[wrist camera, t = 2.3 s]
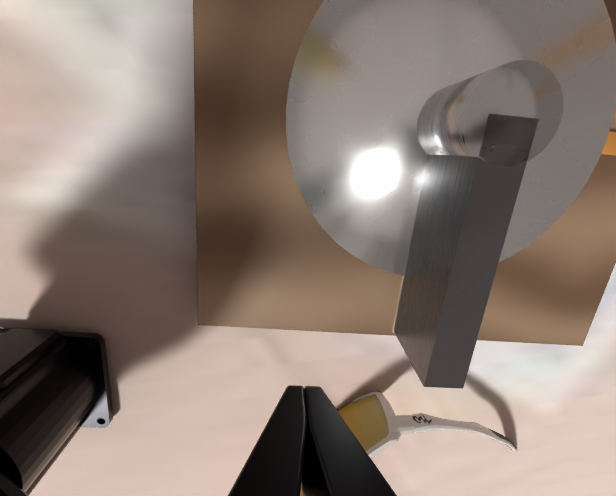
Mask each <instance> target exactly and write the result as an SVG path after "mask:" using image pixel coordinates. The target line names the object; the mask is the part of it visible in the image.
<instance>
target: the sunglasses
mask: <svg viewBox="0 0 616 496" xmlns="http://www.w3.org/2000/svg"><path fill="white" fill-rule="evenodd" d="M338 413H339V414H340V415H341V417H342V418H343V420H344V421H345V423H346V424H347V425H348V427H349V428H350V430H351V431H352V433H353V434H354V435H355V437H356V438H357V440H358V441H359V443H360V444H361V445H362V447H363V448H364V450H365V451H366V453H367V454H368V455H369V457H370V458H373V457H374V456H375V455H376V454H378V453H379V452H381V451H382V450H384V449H385V448H387V447H388V446H390V445H392V444H393V443H395V442H396V441H398V439H399V437H400V435H402V434H409V433H418V432H427V431H436V430H463V431H468V432H473V433H478V434H482V435H484V436H487V437H489V438H491V439H494V440H496V441H499V442H501V443H504V444H505V445H507V446H509V447H510V449H511V450H513V451H515V452H517V449H516V448H515V446H514V445H513V444H512V443H511V442H510V441H509V440H508V439H507V438H506V437H504V436H503V435H501V434H499V433H497V432H495V431H493V430H491V429H488V428H486V427H484V426H482V425H479V424H477V423H475V422H463V421H453V420H447V419H442V418H437V417H433V416H429V415H426V414H422V413H419V414H414V415H409V416H408V415H401V416H395V414H394V411H393V409H392V407H391V405H390V404H389V402H388V401H387V399H386V398H385V397H384V395H383V394H382V393H381V392H378V391H374V392H371V393H368V394H365V395H363V396H361V397H358V398H356V399H354V400H353V401H352V402H351V403H350V404H348V405H346V406H344V407H343V408H341V409H340V410H339V411H338ZM300 496H302V492H300Z"/></svg>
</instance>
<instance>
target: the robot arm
mask: <svg viewBox="0 0 616 496" xmlns="http://www.w3.org/2000/svg"><path fill="white" fill-rule="evenodd" d="M91 341H92V342H94V343H95V344H96V345H95V344H93V343H92V342H91ZM102 418H103V419H102ZM112 419H113V412H112V404H111V395H110V386H109V378H108V369H107V360H106V351H105V343H104V339H103V338H102V336H100V335H98V334H95V333H76V332H59V331H56V330H38V329H19V328H12V329H0V496H29V494H30V493H31V492H32V490H33V489H34V488H35V486H36V485H37V484H38V482H39V481H40V480H41V478H42V477H43V476H44V475H45V473H46V472H47V471H48V469H49V468H50V467H51V465H52V464H53V463H54V461H55V460H56V459H57V457H58V456H59V455H60V453H61V452H62V451H63V450H64V448H65V447H66V446H67V444H68V443H69V442H70V440H71V439H72V438H73V436H74V435H75V434H76V432H77V431H78V430H79V428H80V427H98V428H103V427H107V426H108V425H109V423H110V422H111V420H112ZM300 492H302V496H397V495H396V494H395V493H394V491H393V490H392V488H391V487H390V485H389V484H388V483H387V481H386V480H385V478H384V477H383V475H382V474H381V473H380V471H379V470H378V468H377V467H376V465H375V464H374V463H373V461H372V460H371V458H370V457H369V455H368V454H367V453H366V451H365V450H364V448H363V447H362V445H361V444H360V443H359V441H358V440H357V438H356V437H355V435H354V434H353V433H352V431H351V430H350V428H349V427H348V425H347V424H346V423H345V421H344V420H343V418H342V417H341V415H340V414H339V413H338V411H337V410H336V408H335V407H334V405H333V404H332V403H331V401H330V400H329V398H328V397H327V395H326V394H325V393H324V391H323V390H322V388H321V387H316V386H306V387H305V388H303V386H291V385H290V386H288V387H287V388H286V390H285V392H284V393H283V395H282V397H281V399H280V401H279V403H278V404H277V406H276V408H275V410H274V412H273V414H272V415H271V417H270V419H269V421H268V423H267V425H266V427H265V428H264V430H263V432H262V434H261V436H260V438H259V439H258V441H257V443H256V445H255V447H254V449H253V450H252V452H251V454H250V456H249V458H248V460H247V461H246V463H245V465H244V467H243V469H242V471H241V473H240V474H239V476H238V478H237V480H236V482H235V484H234V485H233V487H232V489H231V491H230V493H229V495H228V496H300Z"/></svg>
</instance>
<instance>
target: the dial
mask: <svg viewBox="0 0 616 496" xmlns="http://www.w3.org/2000/svg"><path fill="white" fill-rule="evenodd" d="M615 104H616V41H615V36H614V32H613V27H612V22H611V20H610V17H609V14H608V11H607V8H606V6H605V3H604V0H324V1H323V3H322V4H321V6H320V7H319V8H318V10H317V12H316V14H315V15H314V17H313V19H312V21H311V23H310V25H309V27H308V29H307V31H306V32H305V35H304V37H303V40H302V42H301V45H300V48H299V50H298V53H297V55H296V58H295V62H294V66H293V70H292V74H291V78H290V82H289V89H288V97H287V105H286V136H287V144H288V152H289V158H290V162H291V165H292V169H293V173H294V177H295V179H296V182H297V185H298V187H299V190H300V192H301V195H302V197H303V199H304V200H305V202H306V204H307V206H308V208H309V210H310V211H311V213H312V215H313V216H314V217H315V219H316V220H317V221H318V223H319V224H320V225H321V227H322V228H323V229H324V230H325V232H326V233H327V234H328V235H329V236H330V237H331V238H332V239H333V240H334V241H335V242H336V243H337V244H339V245H340V246H341V247H342V248H344V249H345V250H346V251H348V252H349V253H350V254H351V255H353V256H355V257H356V258H358V259H360V260H362V261H363V262H365V263H367V264H369V265H371V266H374V267H376V268H379V269H381V270H383V271H387V272H390V273H394V274H398V275H402V276H404V280H403V285H402V290H401V295H400V301H399V306H398V311H397V316H396V321H395V327H394V333H395V334H396V336H397V338H398V340H399V342H400V344H401V345H402V347H403V349H404V351H405V353H406V355H407V356H408V358H409V360H410V362H411V364H412V366H413V367H414V369H415V371H416V373H417V375H418V377H419V379H420V380H421V382H422V384H423V386H424V387H444V388H463V387H464V383H465V380H466V376H467V373H468V369H469V365H470V362H471V358H472V355H473V351H474V348H475V344H476V341H477V337H478V334H479V330H480V327H481V323H482V319H483V316H484V312H485V309H486V305H487V302H488V298H489V295H490V291H491V288H492V284H493V280H494V277H495V273H496V270H497V266H498V263H499V262H501V261H503V260H505V259H507V258H509V257H511V256H513V255H514V254H516V253H517V252H519V251H520V250H522V249H524V248H525V247H527V246H528V245H530V244H531V243H532V242H534V241H535V240H536V239H537V238H539V237H540V236H541V235H542V234H544V233H545V232H546V231H547V230H548V229H549V228H550V227H551V226H552V225H553V224H554V223H555V222H556V221H557V220H558V219H559V218H560V217H561V216H562V215H563V214H564V213H565V211H566V210H567V209H568V208H569V207H570V205H571V204H572V203H573V202H574V201H575V199H576V198H577V196H578V195H579V193H580V192H581V190H582V189H583V187H584V186H585V184H586V183H587V181H588V179H589V178H590V176H591V174H592V172H593V170H594V168H595V166H596V164H597V163H598V160H599V158H600V155H601V153H602V151H603V148H604V146H605V143H606V141H607V137H608V134H609V130H610V127H611V123H612V120H613V116H614V110H615Z"/></svg>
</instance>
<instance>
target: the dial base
mask: <svg viewBox="0 0 616 496" xmlns="http://www.w3.org/2000/svg"><path fill="white" fill-rule="evenodd" d="M323 1H324V0H193V25H194V93H195V161H196V229H197V297H198V325H212V326H230V327H249V328H267V329H285V330H304V331H322V332H340V333H358V334H377V335H395V336H396V334H395V333H394V327H395V321H396V316H397V311H398V306H399V301H400V295H401V290H402V285H403V280H404V276H402V275H398V274H394V273H390V272H387V271H383V270H381V269H379V268H376V267H374V266H371V265H369V264H367V263H365V262H363V261H362V260H360V259H358V258H356V257H355V256H353V255H351V254H350V253H349V252H348V251H346V250H345V249H344V248H342V247H341V246H340V245H339V244H337V243H336V242H335V241H334V240H333V239H332V238H331V237H330V236H329V235H328V234H327V233H326V232H325V230H324V229H323V228H322V227H321V225H320V224H319V223H318V221H317V220H316V219H315V217H314V216H313V215H312V213H311V211H310V210H309V208H308V206H307V204H306V202H305V200H304V199H303V197H302V195H301V192H300V190H299V187H298V185H297V182H296V179H295V177H294V173H293V169H292V165H291V162H290V158H289V152H288V144H287V136H286V105H287V97H288V89H289V82H290V78H291V74H292V70H293V66H294V62H295V58H296V55H297V53H298V50H299V48H300V45H301V42H302V40H303V37H304V35H305V32H306V31H307V29H308V27H309V25H310V23H311V21H312V19H313V17H314V15H315V14H316V12H317V10H318V8H319V7H320V6H321V4H322V3H323ZM604 3H605V6H606V8H607V11H608V14H609V17H610V20H611V22H612V27H613V32H614V36H615V41H616V0H604ZM615 263H616V104H615V110H614V116H613V120H612V123H611V127H610V130H609V134H608V137H607V141H606V143H605V146H604V148H603V151H602V153H601V155H600V158H599V160H598V163H597V164H596V166H595V168H594V170H593V172H592V174H591V176H590V178H589V179H588V181H587V183H586V184H585V186H584V187H583V189H582V190H581V192H580V193H579V195H578V196H577V198H576V199H575V201H574V202H573V203H572V204H571V205H570V207H569V208H568V209H567V210H566V211H565V213H564V214H563V215H562V216H561V217H560V218H559V219H558V220H557V221H556V222H555V223H554V224H553V225H552V226H551V227H550V228H549V229H548V230H547V231H546V232H545V233H544V234H542V235H541V236H540V237H539V238H537V239H536V240H535V241H534V242H532V243H531V244H530V245H528V246H527V247H525V248H524V249H522V250H520V251H519V252H517V253H516V254H514V255H513V256H511V257H509V258H507V259H505V260H503V261H501V262H499V263H498V266H497V270H496V273H495V277H494V280H493V284H492V288H491V291H490V295H489V298H488V302H487V305H486V309H485V312H484V316H483V319H482V323H481V327H480V330H479V334H478V337H477V340H486V341H505V342H523V343H541V344H560V345H578V346H583V344H584V341H585V338H586V336H587V333H588V331H589V328H590V326H591V323H592V321H593V318H594V316H595V313H596V311H597V308H598V306H599V303H600V301H601V298H602V296H603V293H604V291H605V288H606V286H607V283H608V281H609V278H610V276H611V273H612V271H613V268H614V266H615Z"/></svg>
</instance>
